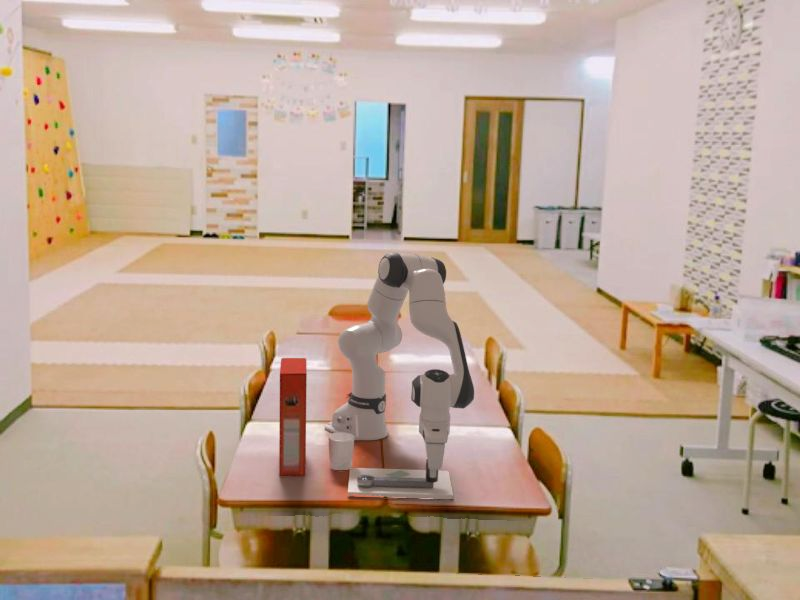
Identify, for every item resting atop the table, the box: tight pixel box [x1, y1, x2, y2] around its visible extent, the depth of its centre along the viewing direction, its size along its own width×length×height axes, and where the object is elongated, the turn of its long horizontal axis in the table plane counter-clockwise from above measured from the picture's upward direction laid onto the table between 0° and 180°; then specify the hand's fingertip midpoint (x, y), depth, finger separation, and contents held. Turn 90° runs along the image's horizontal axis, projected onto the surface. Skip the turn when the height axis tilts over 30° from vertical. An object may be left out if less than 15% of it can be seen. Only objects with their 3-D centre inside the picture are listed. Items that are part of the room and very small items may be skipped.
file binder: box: [278, 357, 308, 477], centre depth 265 cm, size 8×17×32 cm, turn 6°
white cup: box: [328, 432, 355, 471], centre depth 267 cm, size 8×8×10 cm
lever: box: [357, 459, 438, 488], centre depth 251 cm, size 23×5×8 cm, turn 91°
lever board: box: [347, 467, 454, 500], centre depth 256 cm, size 30×18×2 cm, turn 91°
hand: (432, 472), depth 251 cm, fingers open, 5 cm apart
